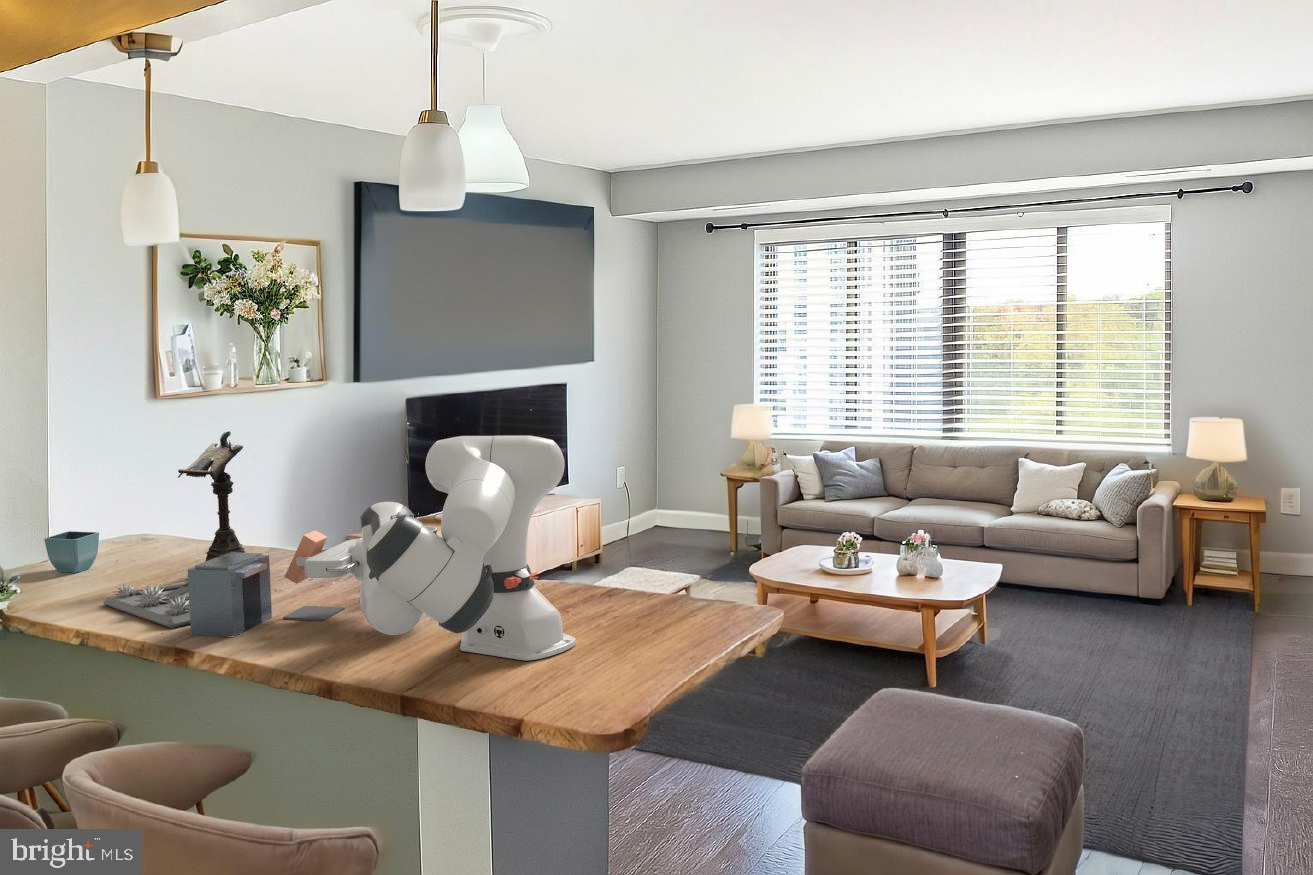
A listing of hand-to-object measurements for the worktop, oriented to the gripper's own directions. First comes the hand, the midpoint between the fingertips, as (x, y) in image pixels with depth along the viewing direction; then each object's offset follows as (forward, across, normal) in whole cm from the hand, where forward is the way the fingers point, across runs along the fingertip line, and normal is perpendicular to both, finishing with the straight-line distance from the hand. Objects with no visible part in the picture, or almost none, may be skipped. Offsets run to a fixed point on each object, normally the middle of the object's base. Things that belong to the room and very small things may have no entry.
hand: (305, 557), depth 218 cm
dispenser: (+11, -10, -12) cm, 19 cm away
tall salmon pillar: (+2, 0, -4) cm, 5 cm away
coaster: (-1, 0, -12) cm, 12 cm away
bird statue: (+37, +28, -12) cm, 48 cm away
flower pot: (+76, +28, -12) cm, 83 cm away
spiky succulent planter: (+29, +2, -13) cm, 32 cm away
